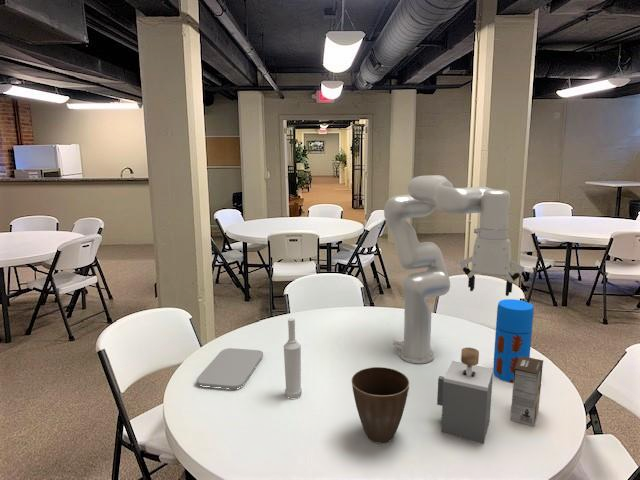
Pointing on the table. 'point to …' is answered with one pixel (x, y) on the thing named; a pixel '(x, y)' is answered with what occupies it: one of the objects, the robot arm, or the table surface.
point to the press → (465, 401)
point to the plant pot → (380, 401)
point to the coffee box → (526, 390)
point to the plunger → (469, 359)
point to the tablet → (230, 368)
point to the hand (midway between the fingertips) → (489, 292)
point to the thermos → (512, 336)
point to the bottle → (292, 363)
